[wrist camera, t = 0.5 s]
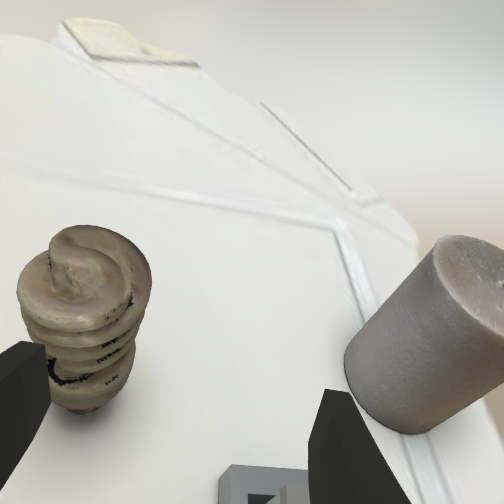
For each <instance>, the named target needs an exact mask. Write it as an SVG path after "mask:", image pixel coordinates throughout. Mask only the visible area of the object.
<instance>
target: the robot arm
mask: <svg viewBox="0 0 504 504" xmlns="http://www.w3.org/2000/svg"><path fill="white" fill-rule="evenodd" d="M50 404H51V393H50V385H49V376H48V367H47V359H46V350H45V344H39V343H32V342H26V341H20V342H18V343H17V344H15V345H13V346H12V347H10V348H9V349H7V350H6V351H4V352H2V353H1V354H0V491H1V489H2V488H3V486H4V485H5V483H6V481H7V480H8V478H9V477H10V475H11V474H12V472H13V471H14V469H15V467H16V466H17V464H18V463H19V461H20V460H21V458H22V456H23V455H24V453H25V452H26V450H27V449H28V447H29V445H30V444H31V442H32V440H33V438H34V437H35V435H36V433H37V431H38V429H39V427H40V425H41V423H42V421H43V419H44V416H45V414H46V412H47V410H48V408H49V406H50ZM308 486H309V496H310V504H411V502H410V500H409V499H408V497H407V496H406V494H405V492H404V491H403V489H402V488H401V486H400V484H399V483H398V481H397V479H396V478H395V476H394V474H393V472H392V471H391V469H390V467H389V466H388V464H387V462H386V460H385V459H384V457H383V455H382V453H381V452H380V450H379V448H378V446H377V444H376V443H375V441H374V439H373V437H372V435H371V433H370V431H369V430H368V428H367V426H366V424H365V422H364V420H363V418H362V416H361V414H360V412H359V410H358V408H357V406H356V404H355V402H354V400H353V398H352V396H351V395H350V393H349V392H342V391H336V390H330V389H325V391H324V394H323V397H322V400H321V404H320V407H319V410H318V413H317V416H316V419H315V422H314V426H313V429H312V432H311V435H310V438H309V441H308Z"/></svg>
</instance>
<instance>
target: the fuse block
mask: <svg viewBox="0 0 504 504" xmlns="http://www.w3.org/2000/svg"><path fill="white" fill-rule="evenodd" d="M285 485H302V486H308V470H300V469H287V468H273V467H260V466H246V465H233V464H231V465H230V467H229V468H228V469H227V470H226V471H225V472H224V473H223V474H222V476H221V477H220V478H219V491H218V504H266V503H267V502H268V501H270V500H271V499H273V498H274V497H275V496H277V495H278V494H279V493H280V492H279V490H280V489H281V488H282V487H284V486H285Z"/></svg>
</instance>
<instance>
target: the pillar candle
mask: <svg viewBox="0 0 504 504" xmlns="http://www.w3.org/2000/svg"><path fill="white" fill-rule="evenodd" d="M344 362H345V370H346V374H347V378H348V382H349V385H350V388H351V390H352V392H353V394H354V396H355V398H356V399H357V401H358V402H359V403H360V404H361V406H362V407H363V408H364V409H365V410H366V411H367V412H368V413H369V414H370V415H371V416H372V417H373V418H374V419H376V420H377V421H379V422H380V423H382V424H383V425H385V426H387V427H389V428H392V429H394V430H396V431H399V432H404V433H416V434H417V433H423V432H427V431H429V430H431V429H432V428H434V427H435V426H437V425H439V424H440V423H442V422H444V421H445V420H447V419H448V418H450V417H452V416H453V415H455V414H456V413H458V412H459V411H461V410H462V409H464V408H466V407H467V406H469V405H470V404H472V403H473V402H475V401H476V400H478V399H480V398H481V397H483V396H484V395H486V394H487V393H488V392H490V391H491V390H493V389H494V388H496V387H497V386H499V385H501V384H502V383H504V250H502V249H500V248H498V247H496V246H494V245H492V244H490V243H488V242H486V241H483V240H479V239H477V238H473V237H468V236H463V235H459V236H458V235H455V236H454V235H453V236H451V235H445V236H444V237H443V238H439V239H438V240H437V243H435V246H434V247H433V248H432V250H431V251H430V252H429V253H428V254H427V255H426V256H425V258H424V259H423V260H422V261H421V262H420V263H419V265H418V266H417V267H416V268H415V269H414V270H413V271H412V272H411V274H410V275H409V276H408V277H407V278H406V279H405V280H404V281H403V282H402V284H401V285H400V286H399V287H398V288H397V289H396V290H395V291H394V293H393V294H392V295H391V296H390V297H389V298H388V299H387V300H386V301H385V303H384V304H383V305H382V306H381V307H380V308H379V309H378V311H377V312H376V313H375V314H374V315H373V316H372V317H371V318H370V320H369V321H368V322H367V323H366V324H365V325H364V327H363V328H362V329H361V330H360V331H359V332H358V334H357V335H356V336H355V337H354V338H353V340H352V341H351V342H350V343H349V345H348V346H347V348H346V351H345V354H344Z"/></svg>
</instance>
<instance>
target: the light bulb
mask: <svg viewBox="0 0 504 504" xmlns="http://www.w3.org/2000/svg"><path fill="white" fill-rule="evenodd" d="M151 287H152V277H151V270H150V267H149V264H148V262H147V260H146V258H145V256H144V255H143V253H142V252H141V251H140V250H139V249H138V247H137V246H136V245H135V244H133V243H132V242H131V241H130V240H128V239H127V238H125V237H124V236H122V235H120V234H119V233H116V232H114V231H112V230H109V229H106V228H102V227H99V226H92V225H76V226H72V227H68V228H65V229H63V230H62V231H60V232H59V233H58V234H56V235H55V236H54V237H53V238H52V239H51V241H50V243H49V250H47V251H45V252H43V253H41V254H39V255H37V256H36V257H35V258H33V259H32V260H31V261H30V262H29V263H28V264H27V265H26V266H25V268H24V269H23V271H22V272H21V274H20V277H19V280H18V284H17V297H18V301H19V303H20V305H21V308H20V309H21V315H22V318H23V320H24V322H25V325H26V326H27V331H28V333H29V336H30V338H31V340H32V341H33V342H34V343H39V344H45V350H46V359H47V367H48V376H49V385H50V393H51V401H53V402H54V403H55V404H57V405H59V406H61V407H64V408H66V409H67V410H68V411H70V412H72V413H75V414H81V415H83V414H85V413H87V412H91V411H95V410H96V409H97V408H99V407H100V406H101V405H102V404H104V403H106V402H107V401H109V400H110V399H112V398H113V397H115V396H116V395H117V394H118V392H119V391H120V390H121V389H122V388H123V386H124V385H125V383H126V382H127V379H128V376H129V374H130V372H131V369H132V366H133V361H134V357H135V351H136V346H135V337H136V335H137V333H138V330H139V326H140V324H141V322H142V320H143V317H144V313H145V309H146V306H147V304H148V301H149V297H150V292H151Z"/></svg>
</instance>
